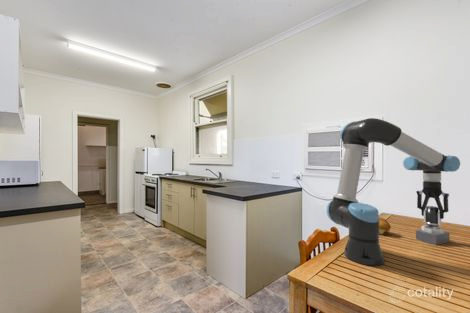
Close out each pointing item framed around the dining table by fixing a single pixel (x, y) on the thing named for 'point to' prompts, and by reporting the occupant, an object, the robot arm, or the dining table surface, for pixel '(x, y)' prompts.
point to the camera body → (432, 235)
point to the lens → (432, 216)
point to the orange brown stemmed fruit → (384, 226)
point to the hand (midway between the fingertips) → (432, 223)
